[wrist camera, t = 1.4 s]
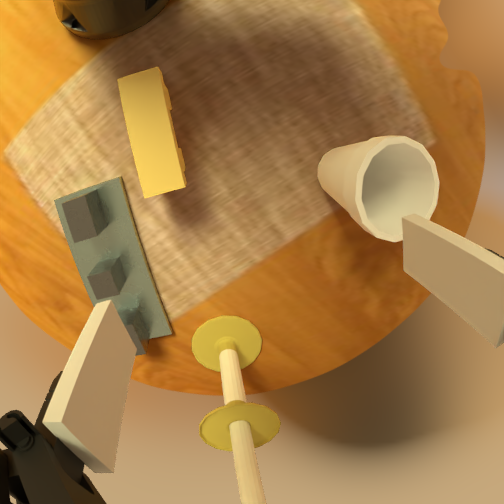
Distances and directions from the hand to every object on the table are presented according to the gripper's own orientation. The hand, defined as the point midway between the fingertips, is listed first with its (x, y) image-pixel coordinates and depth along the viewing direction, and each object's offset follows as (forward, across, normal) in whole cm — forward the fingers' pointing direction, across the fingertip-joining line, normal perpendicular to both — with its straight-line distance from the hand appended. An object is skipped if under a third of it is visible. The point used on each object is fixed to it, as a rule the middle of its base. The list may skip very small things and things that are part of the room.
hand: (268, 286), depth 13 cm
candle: (+24, -6, -21) cm, 32 cm away
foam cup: (+24, +14, -2) cm, 28 cm away
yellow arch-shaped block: (+24, -6, +8) cm, 26 cm away
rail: (+24, -16, -5) cm, 29 cm away
